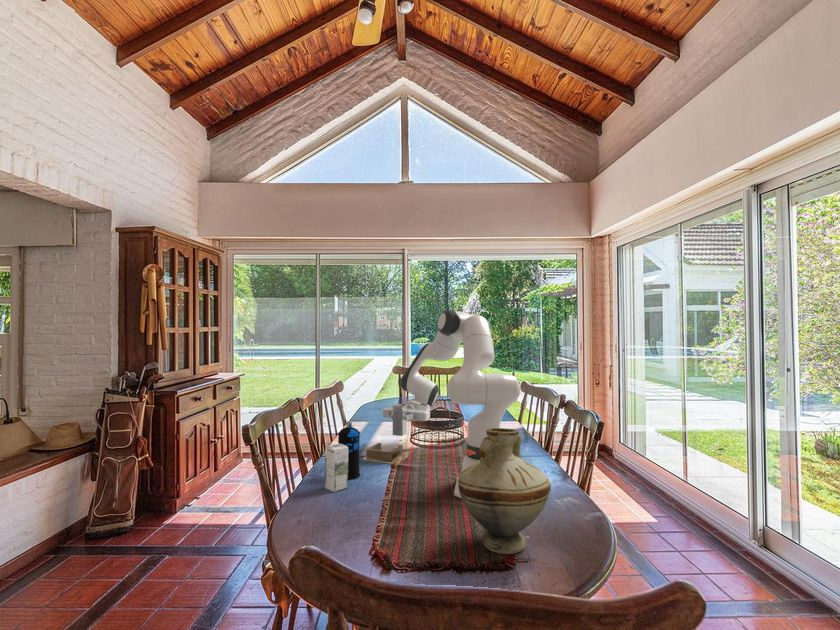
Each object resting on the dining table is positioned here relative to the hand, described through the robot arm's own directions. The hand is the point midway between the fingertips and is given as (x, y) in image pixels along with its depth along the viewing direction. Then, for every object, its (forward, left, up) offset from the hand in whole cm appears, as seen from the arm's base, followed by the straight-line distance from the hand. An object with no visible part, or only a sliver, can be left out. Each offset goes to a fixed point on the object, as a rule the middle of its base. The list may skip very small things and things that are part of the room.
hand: (398, 417), depth 186 cm
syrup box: (-36, +8, -17) cm, 41 cm away
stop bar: (+1, 0, -7) cm, 7 cm away
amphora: (-53, -52, -17) cm, 77 cm away
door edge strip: (0, -2, -17) cm, 17 cm away
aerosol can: (-24, +10, -17) cm, 31 cm away
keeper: (+1, +7, -17) cm, 19 cm away
